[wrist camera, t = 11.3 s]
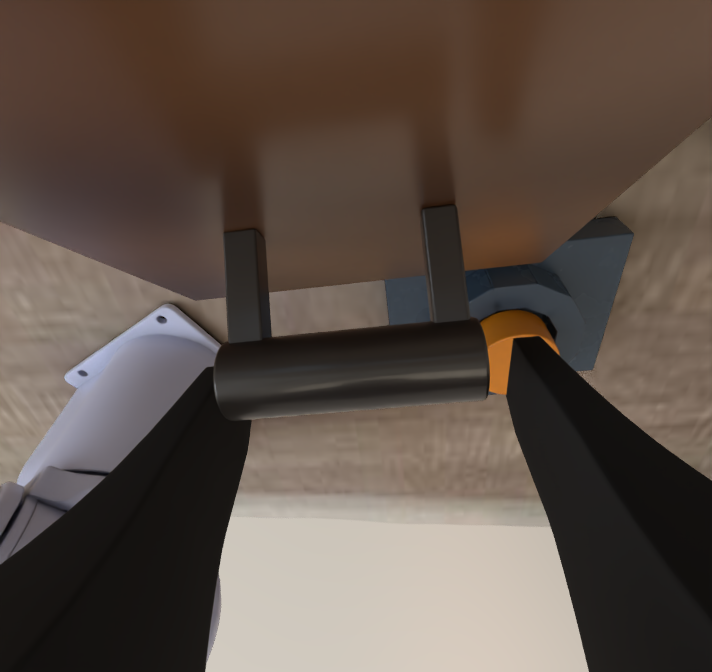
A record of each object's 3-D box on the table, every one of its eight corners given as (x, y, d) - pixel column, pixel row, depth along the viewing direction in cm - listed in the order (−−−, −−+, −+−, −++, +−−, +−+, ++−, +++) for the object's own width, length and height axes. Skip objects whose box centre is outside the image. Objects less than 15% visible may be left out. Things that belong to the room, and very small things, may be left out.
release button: (465, 371, 21) (472, 398, 20) (467, 313, 19) (475, 339, 17) (540, 365, 21) (553, 392, 19) (552, 304, 18) (567, 330, 17)
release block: (394, 366, 25) (398, 412, 22) (381, 243, 20) (384, 284, 17) (580, 349, 24) (608, 395, 21) (616, 215, 19) (658, 254, 16)
